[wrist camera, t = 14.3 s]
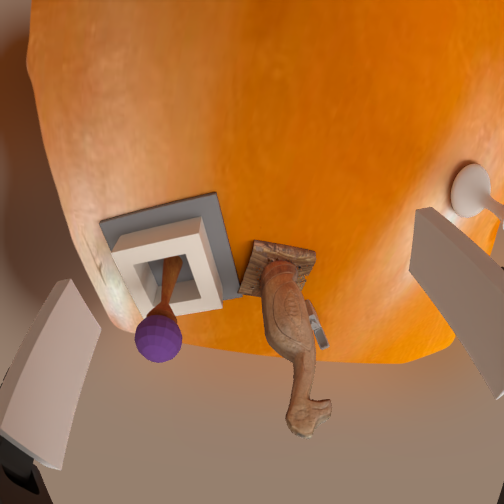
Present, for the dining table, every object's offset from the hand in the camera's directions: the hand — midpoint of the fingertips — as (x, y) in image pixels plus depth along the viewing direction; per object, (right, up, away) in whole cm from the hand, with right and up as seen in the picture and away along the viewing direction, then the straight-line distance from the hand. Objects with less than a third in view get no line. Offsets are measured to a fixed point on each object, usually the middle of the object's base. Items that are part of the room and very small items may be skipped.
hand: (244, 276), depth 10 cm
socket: (-13, 0, +40) cm, 42 cm away
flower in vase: (+42, +14, +36) cm, 57 cm away
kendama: (-13, -1, +39) cm, 41 cm away
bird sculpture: (+4, -2, +43) cm, 44 cm away
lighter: (+12, -11, +49) cm, 52 cm away
